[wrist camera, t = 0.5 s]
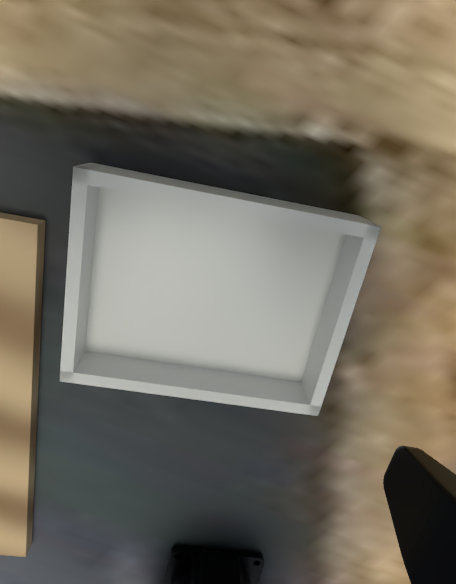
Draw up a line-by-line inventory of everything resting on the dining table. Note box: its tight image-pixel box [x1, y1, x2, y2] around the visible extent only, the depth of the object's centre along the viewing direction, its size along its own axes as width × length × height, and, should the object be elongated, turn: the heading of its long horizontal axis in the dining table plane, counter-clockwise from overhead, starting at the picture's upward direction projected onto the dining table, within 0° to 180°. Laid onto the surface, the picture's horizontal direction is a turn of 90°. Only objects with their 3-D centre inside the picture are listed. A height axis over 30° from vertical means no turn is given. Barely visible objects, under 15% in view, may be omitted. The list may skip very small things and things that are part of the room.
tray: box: [60, 163, 381, 416], centre depth 20 cm, size 10×13×3 cm
